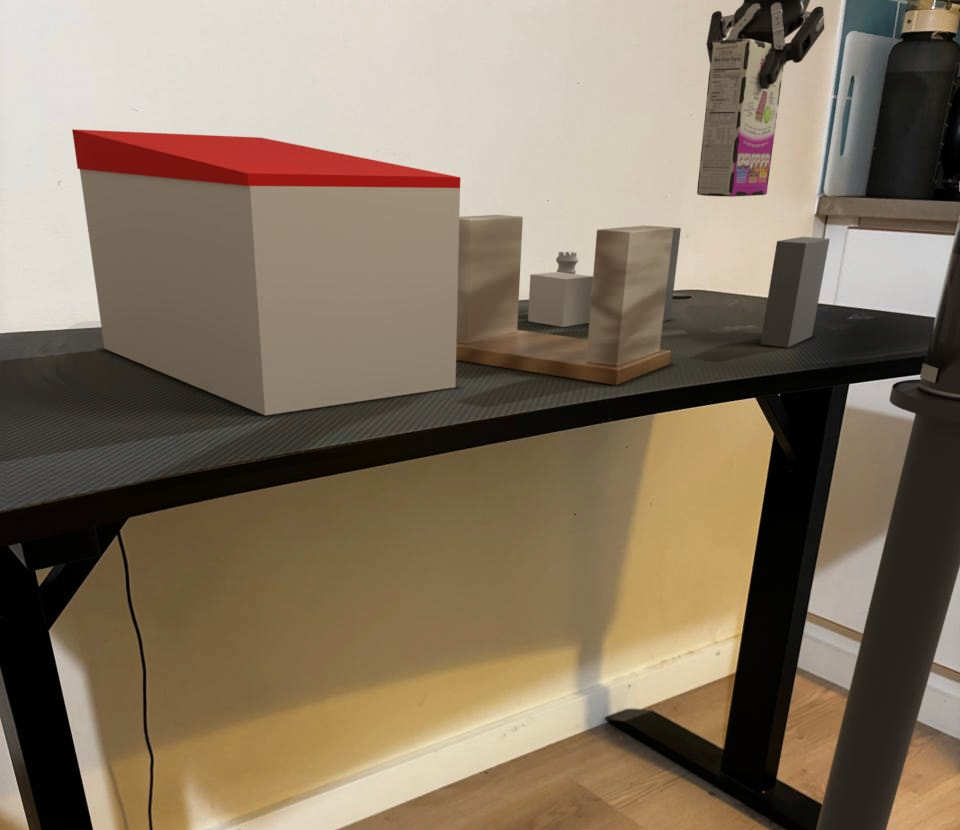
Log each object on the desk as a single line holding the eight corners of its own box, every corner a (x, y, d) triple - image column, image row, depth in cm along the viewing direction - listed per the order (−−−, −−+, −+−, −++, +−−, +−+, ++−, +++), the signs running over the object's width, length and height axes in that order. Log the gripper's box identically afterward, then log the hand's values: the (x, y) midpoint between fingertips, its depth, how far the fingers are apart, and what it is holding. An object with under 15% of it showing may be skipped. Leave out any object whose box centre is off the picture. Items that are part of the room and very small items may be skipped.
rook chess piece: (585, 313, 139) (589, 253, 136) (560, 314, 137) (564, 254, 133) (566, 308, 143) (570, 250, 139) (542, 310, 140) (545, 251, 137)
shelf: (669, 364, 107) (686, 227, 100) (616, 385, 96) (630, 233, 90) (492, 339, 117) (497, 213, 111) (426, 355, 106) (427, 217, 100)
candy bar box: (731, 194, 126) (750, 47, 119) (767, 196, 123) (789, 46, 116) (692, 195, 118) (710, 38, 111) (730, 197, 115) (751, 36, 108)
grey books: (811, 336, 127) (829, 238, 122) (788, 347, 119) (806, 243, 113) (647, 316, 138) (657, 226, 133) (614, 325, 130) (623, 229, 124)
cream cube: (562, 327, 127) (565, 279, 125) (527, 321, 131) (530, 274, 128) (589, 322, 131) (593, 276, 129) (555, 317, 135) (557, 271, 132)
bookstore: (272, 332, 116) (260, 137, 107) (455, 387, 93) (461, 143, 83) (101, 348, 104) (71, 129, 94) (263, 415, 80) (244, 133, 71)
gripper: (726, -49, 118) (677, 56, 114) (845, -58, 111) (797, 53, 107) (734, 8, 124) (688, 109, 120) (847, 3, 117) (802, 110, 114)
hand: (740, 82), depth 114 cm, fingers closed on candy bar box, 5 cm apart
